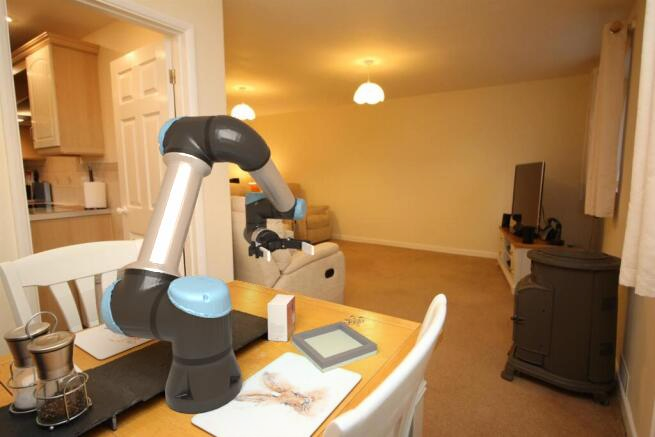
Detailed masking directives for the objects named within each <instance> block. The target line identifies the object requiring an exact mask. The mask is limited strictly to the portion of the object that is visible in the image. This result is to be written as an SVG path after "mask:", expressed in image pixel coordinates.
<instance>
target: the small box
mask: <svg viewBox="0 0 655 437" xmlns="http://www.w3.org/2000/svg"><path fill="white" fill-rule="evenodd" d="M266 306H267V310H266V311H267V340H268V341H271V342H272V341H273V342H274V341H275V342H285V343H287V342H288V341H289V340H290V338H292V335H293V334H294V333H295V331H296V295H293V294H280V293H279V294H278V293H276V295H275V296H274V297H273V298H272V299H271V300H270V301H269V302H267V304H266Z"/></svg>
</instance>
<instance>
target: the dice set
mask: <svg viewBox="0 0 655 437" xmlns="http://www.w3.org/2000/svg"><path fill="white" fill-rule="evenodd" d="M343 323H345V324H346V325H348V326H349V323H350V325H354V324H355V327H357V328H359V327H362V326H361V324H363V323H364V317H363V316H358V321H356V322H355V316H354V315H350V316H349V319H347V318H346V319H343Z"/></svg>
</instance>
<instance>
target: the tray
mask: <svg viewBox="0 0 655 437" xmlns="http://www.w3.org/2000/svg"><path fill="white" fill-rule="evenodd" d="M291 344H292V346H293V347H294V348H296V349H297V350H298V352H300V353H301V354H302V355H303V356H304V357H305V358H306V359H307V360H308V361H309V362H310V363H311V364H312V365H313V366H314V367H315V368H316V369H318V371H319V372H321V373H322V374H324V373H323V372H325V373H327V372H330V371H332V370H331V369H333V370H335V369H334V368H336V369H338V368H341V367H344V366H347V365H349V364H353V363H355V362H358V361H361V360H364V359H366V358H370V357H372V356H374V355H377V354H378V344H377V343H375V342H374V341H372V340H371V339H369V338H368V337H367V336H365V335H363V334H362V333H360V332H359V331H357V330H355V329H354V328H352V327H351V326H349V325H346V324H345V323H344V321H341V320H340V321H337V322H334V323H330V324H326V325H323V326H319V327H315V328H312V329H308V330H304V331H301V332H298V333H293V334H292V335H291ZM329 370H330V371H329ZM326 371H327V372H326Z"/></svg>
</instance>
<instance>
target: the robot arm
mask: <svg viewBox="0 0 655 437" xmlns="http://www.w3.org/2000/svg"><path fill="white" fill-rule="evenodd" d="M157 136H158V137H157V143H158V144H159V146H158V150H159V152H160V154H161V156H162V161H163V164H164V165H165V166H166V169H165V172H164V174H163V178H162V182H161V184H160V187H159V191H158V194H157V197H156V199H155V202H154V206H153V209H152V212H151V215H150V219H149V221H148V225H147V228H146V232H145V234H144V236H143V237H144V238H143V240H142V243H141V245H140V246H141V247H140V250H139V251H138V252H139V253H138V256H137V259H136V261H134V262H133V263H132V264H129V265H128V266H126V268H125V271H124V273H123V276H122V278H119V279H116V280H114V281H113V282H112V283H111V285H108V286H107V287H106V289H105V291H104V293H103V294H102V297H101V301H100V316H101V319H102V321H103V322H104V324H105V327H106V328H107V329H108V330H109V331H111V332H112V333H115V334H117V335H121V336H125V337H128V338H141V339H148V340H149V339H150V340H156V341H163V342H170V343H171V349H172V350H171V351H172V362H171V366H170V369H169V373H168V375H167V379H166V383H165V388H164V392H165V403H166V404H167V406H168V407H169V408H170V409H171V410H173V411H175V412H178V413H184V414H199V413H200V414H201V413H205V412H209V411H213V410H216V409H219V408H221V407H222V406H225V405H227V404H228V403H229V402H231V401H232V400H233V399H235V398H237V396H238V394H239V393H240V392H241V390H242V386H243V373H242V369H241V367H240V365H239V361H238V360H237V357H236V355H235V352H234V350H233V348H234V347H233V325H232V323H233V320H232V318H233V317H232V316H233V315H232V308H233V305H232V304H233V303H232V299H231V298H232V297H231V291H230V288H229V286H228V284H226V282H224V280H222V279H219V278H217V277H213V276H210V275H201V274H200V275H186V276H182V274H181V272H179V266H180V262H181V260H182V259H181V258H182V256H183V251H184V248H185V244H186V241H187V238H188V233H189V230H190V226H191V222H192V219H193V215H194V212H195V210H196V209H195V208H196V204H197V201H198V197H199V193H200V190H201V187H202V183H203V179H204V178H206V177H208V176H210V175H211V173H212V170H213V168H214V164H217V163H222V164H223V163H229V164H234V165H237V167H239V169H240V170H241V171H243V172H244V173H245V172H246V173H248V175H249V176H250V177H251V179H252V180H253V181H254V183H255V184H256V185H257V186H258V188H259V189H260V190H261V191H250V192H249V191H248V192H247V193H246V194H245V196H244V213H245V227H244V228H243V232H242V235H243V239H244V240H245V241H246V242H247V243H248V244H249V246H248V249H247V250H248V252H247V253H248V257H253V256H254V257H255V258H254V259H256V260H257V259H260V258H262V259H263V260H265V262H271V253H274V252H276V251H279V250H287V249H291V250H301V251H302V252H304V253H306V254H308V255H310V256H314V255H315V246H314V245H312V241H311V240H309V239H306V238H305V239H302V238H294V237H290V236H288V237H287V238H285V237H283V238H282V237H280V236H279V234H278V233H277V232H275V231H273V230H271V229H269V228H268V224H267V223H268V220H286V221H301V220H305V218H306V215H307V212H308V210H307V208H308V207H307V202H306V200H305V199H304V198H300V197H297V198H296V197H295V195H294V194H293V192H292V191H291V190H290V187H289V186H288V184H287V182H286V181H285V179H284V178H283V176H282V174H281V173H280V170H279V169H278V168H277V166H276V164H275V163H274V161H273V159H272V158H271V156H272V152H271V149H270V148H271V147H269V145H268V143H267V142H266V140H265V139H264V137H263V136H261V134H260V133H258V131H256V129H254V128H253V127H252V126H250V125H249V124H247V123H246V122H245V121H243V120H242V119H240V118H237V117H234V116H232V115H228V114H227V115H226V114H218V115H199V116H188V115H183V116H178V117H172V118H170V119H168V120H167V121H165V122H164V123H163V125H162V126H161V128H160V130H159V132H158V135H157Z"/></svg>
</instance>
